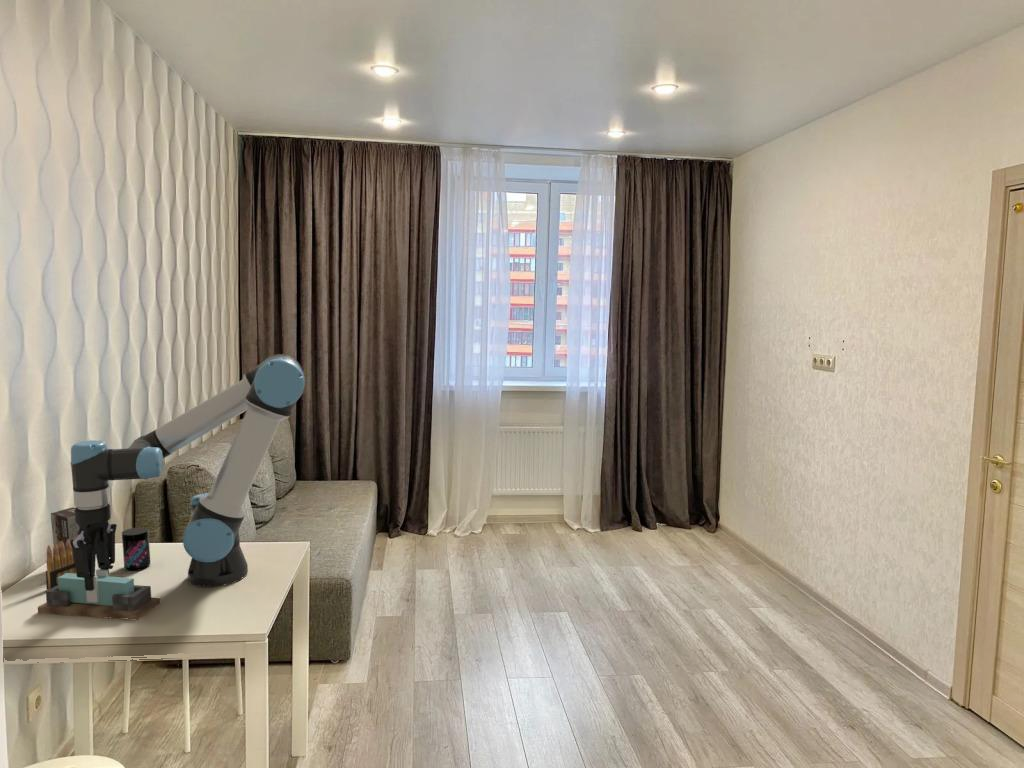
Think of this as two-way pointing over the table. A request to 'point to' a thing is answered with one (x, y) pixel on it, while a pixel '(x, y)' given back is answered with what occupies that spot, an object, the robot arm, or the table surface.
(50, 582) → the ammunition clip
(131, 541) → the supplement container
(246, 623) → the table surface
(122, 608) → the frame
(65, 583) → the slat
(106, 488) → the robot arm
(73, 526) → the coffee box
